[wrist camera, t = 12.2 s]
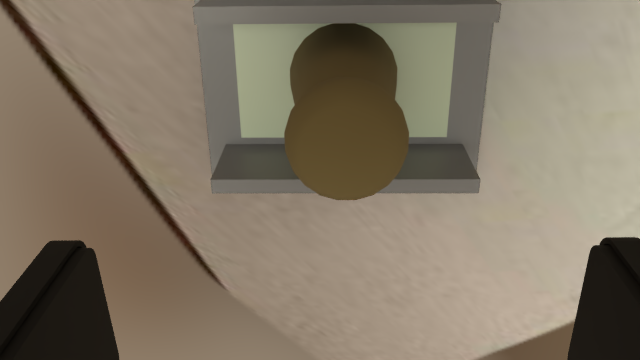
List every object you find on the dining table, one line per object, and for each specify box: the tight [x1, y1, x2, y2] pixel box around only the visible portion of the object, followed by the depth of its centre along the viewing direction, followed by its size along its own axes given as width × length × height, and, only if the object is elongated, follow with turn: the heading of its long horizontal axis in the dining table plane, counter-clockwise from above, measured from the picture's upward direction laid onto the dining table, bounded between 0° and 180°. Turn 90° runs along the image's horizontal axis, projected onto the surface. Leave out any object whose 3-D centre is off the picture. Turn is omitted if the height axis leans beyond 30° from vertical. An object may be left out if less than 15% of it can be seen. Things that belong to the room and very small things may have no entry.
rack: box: [193, 0, 501, 193], centre depth 30 cm, size 16×22×6 cm
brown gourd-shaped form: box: [284, 23, 409, 200], centre depth 28 cm, size 6×6×11 cm
